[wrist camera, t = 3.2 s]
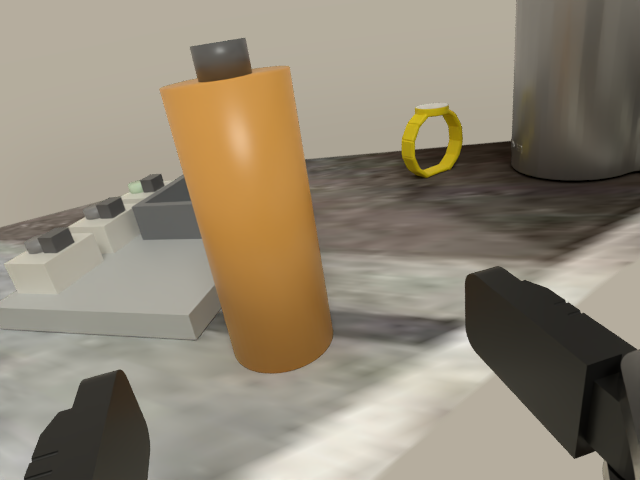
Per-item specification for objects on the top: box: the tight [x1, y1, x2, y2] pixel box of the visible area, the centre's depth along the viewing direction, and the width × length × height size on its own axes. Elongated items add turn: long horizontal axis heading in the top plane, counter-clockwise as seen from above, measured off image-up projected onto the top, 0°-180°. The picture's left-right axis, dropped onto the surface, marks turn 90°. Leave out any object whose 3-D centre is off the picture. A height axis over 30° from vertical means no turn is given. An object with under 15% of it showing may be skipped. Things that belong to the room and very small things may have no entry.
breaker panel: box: [0, 174, 221, 340], centre depth 31 cm, size 13×17×4 cm
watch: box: [402, 103, 463, 178], centre depth 40 cm, size 6×3×6 cm, turn 122°
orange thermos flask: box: [160, 38, 333, 373], centre depth 19 cm, size 5×5×13 cm
